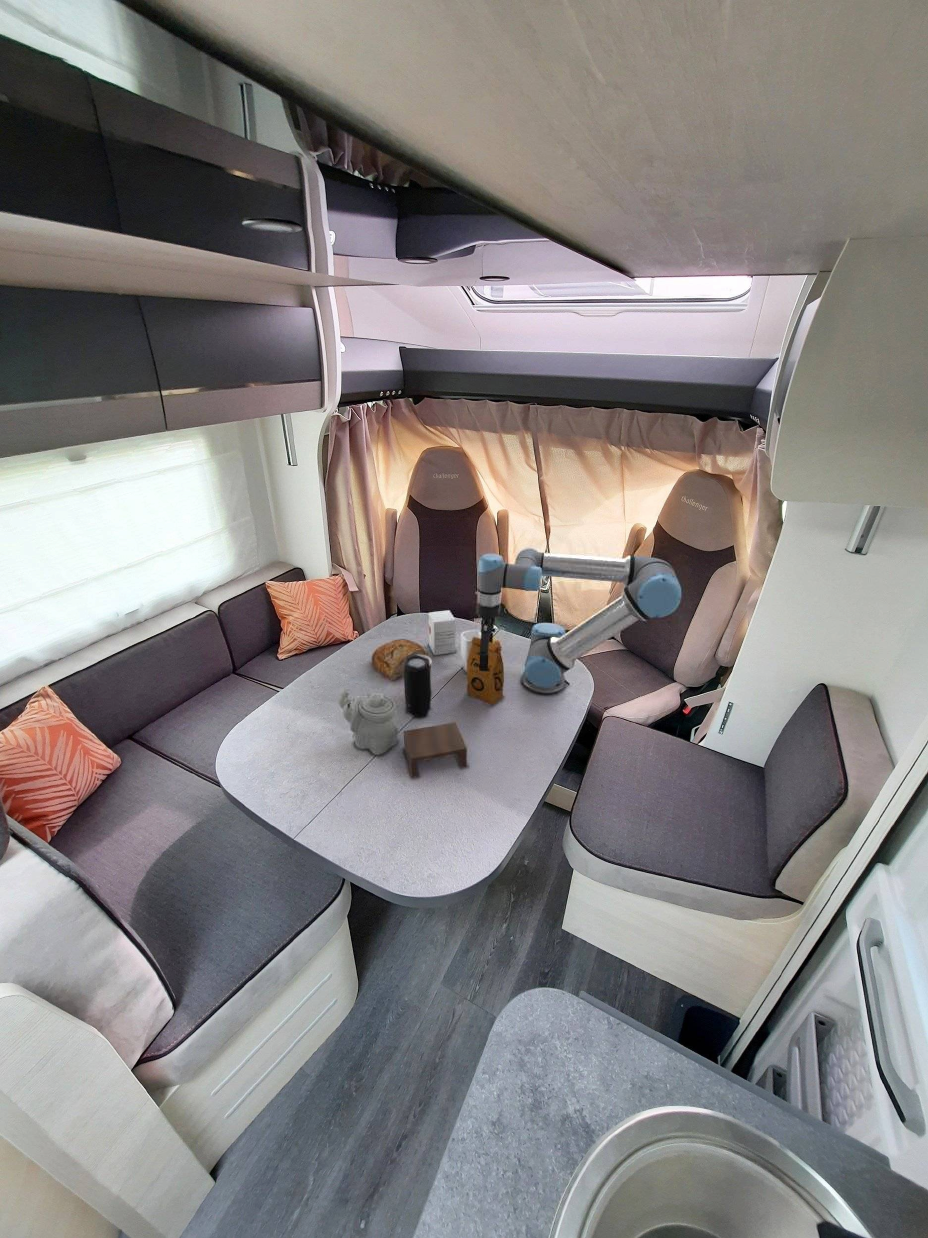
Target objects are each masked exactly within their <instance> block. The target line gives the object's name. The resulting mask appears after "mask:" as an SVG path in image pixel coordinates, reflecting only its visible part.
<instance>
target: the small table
mask: <svg viewBox="0 0 928 1238" xmlns="http://www.w3.org/2000/svg"><path fill="white" fill-rule="evenodd" d="M402 735H403V750H404V752H405V758H406V761H407V764H408V770H409V773H410V777H411V778H416V777H418V762H422V761H427V760H432V759H439V758H444V757H449V756H454V755H455V756H456V759H457V761H458V763H459V766H460V768H461V769H463V768H467V761H468V760H467V757H468V755H467V753H468V747H467V746H466V743H465V740H464V738H463V735H462V734H461V731H460V729H459V727H458V724H457V722H456V721H454V722H448V723H441V724H436V725H431V726H425V727H420V728H413V729H409V730H403V734H402Z"/></svg>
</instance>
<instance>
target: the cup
mask: <svg viewBox="0 0 928 1238" xmlns="http://www.w3.org/2000/svg"><path fill="white" fill-rule="evenodd" d="M473 637H477V638H480V639H481V630H478V629H472V630H466V631H462V632H461V633H460V654H461V655H460V656H461V663H462V668H463V670H464V671H465V673H467V659H468V656H469V652H470V648H471V646H472V638H473Z"/></svg>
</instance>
